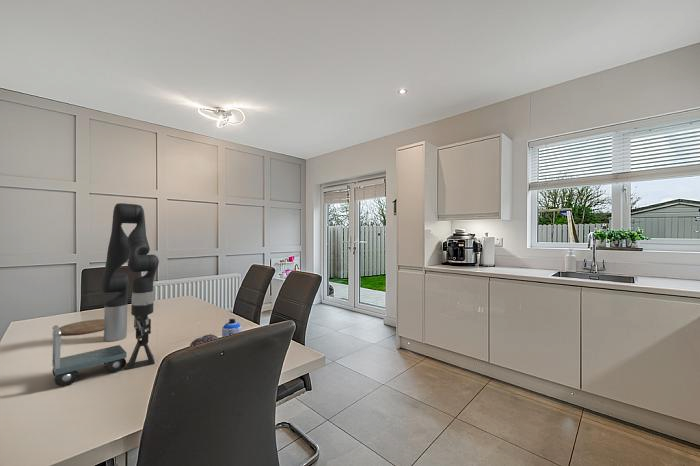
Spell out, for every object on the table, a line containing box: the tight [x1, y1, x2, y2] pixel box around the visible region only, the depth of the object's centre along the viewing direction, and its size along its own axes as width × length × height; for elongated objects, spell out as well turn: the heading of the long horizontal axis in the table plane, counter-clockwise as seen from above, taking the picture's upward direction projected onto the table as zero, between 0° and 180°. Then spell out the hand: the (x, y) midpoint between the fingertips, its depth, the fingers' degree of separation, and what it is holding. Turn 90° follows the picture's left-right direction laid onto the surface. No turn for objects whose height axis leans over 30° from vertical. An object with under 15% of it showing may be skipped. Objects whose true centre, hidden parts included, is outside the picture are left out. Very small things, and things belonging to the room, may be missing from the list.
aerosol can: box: [221, 318, 243, 338], centre depth 119 cm, size 8×8×20 cm
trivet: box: [59, 318, 104, 337], centre depth 166 cm, size 25×25×2 cm
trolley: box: [51, 324, 127, 388], centre depth 112 cm, size 12×20×20 cm, turn 139°
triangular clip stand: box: [127, 334, 156, 371], centre depth 121 cm, size 9×6×12 cm, turn 127°
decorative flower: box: [189, 334, 219, 346], centre depth 123 cm, size 15×12×15 cm
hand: (141, 341), depth 121 cm, fingers open, 8 cm apart
